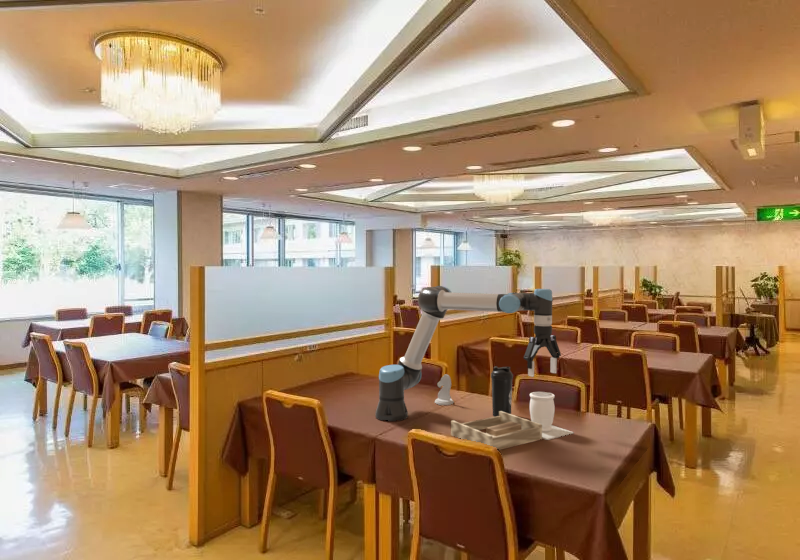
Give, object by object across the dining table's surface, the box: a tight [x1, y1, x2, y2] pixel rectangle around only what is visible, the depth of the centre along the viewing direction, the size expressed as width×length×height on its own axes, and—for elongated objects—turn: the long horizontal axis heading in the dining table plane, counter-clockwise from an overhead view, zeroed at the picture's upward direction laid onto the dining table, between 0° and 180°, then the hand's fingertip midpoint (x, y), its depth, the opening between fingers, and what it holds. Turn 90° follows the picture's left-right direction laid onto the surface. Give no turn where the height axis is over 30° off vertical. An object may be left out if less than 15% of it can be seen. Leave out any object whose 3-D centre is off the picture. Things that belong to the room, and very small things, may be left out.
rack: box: [450, 411, 543, 451], centre depth 216 cm, size 24×28×6 cm
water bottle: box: [490, 365, 514, 417], centre depth 248 cm, size 10×10×23 cm
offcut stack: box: [485, 422, 522, 437], centre depth 212 cm, size 6×18×6 cm, turn 125°
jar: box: [529, 391, 556, 432], centre depth 225 cm, size 11×10×15 cm
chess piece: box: [434, 373, 454, 406], centre depth 271 cm, size 10×10×15 cm
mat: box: [542, 424, 575, 441], centre depth 225 cm, size 20×16×1 cm
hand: (542, 374), depth 225 cm, fingers open, 13 cm apart
